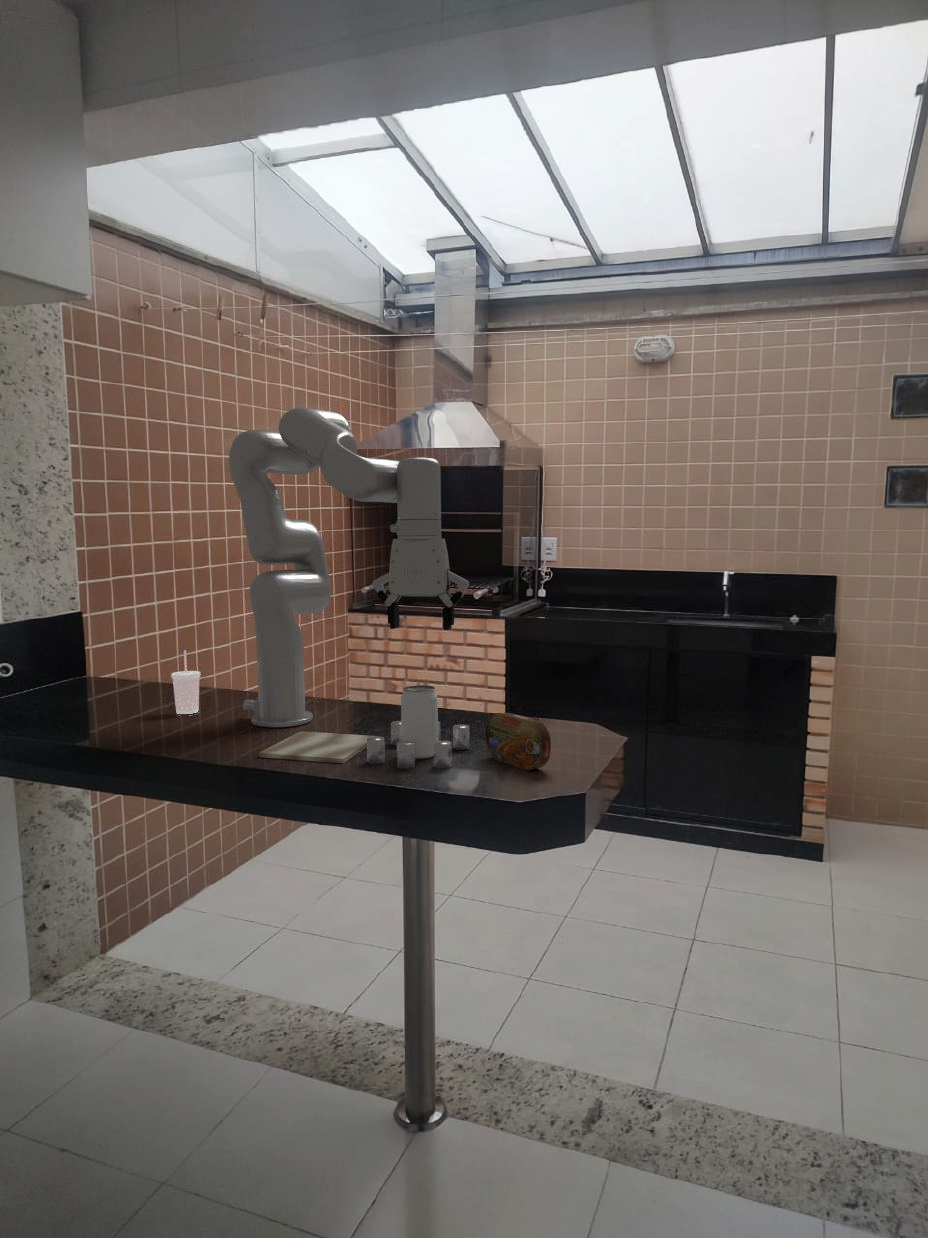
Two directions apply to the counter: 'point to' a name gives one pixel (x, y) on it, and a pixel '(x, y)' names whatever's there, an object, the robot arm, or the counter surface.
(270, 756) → the board
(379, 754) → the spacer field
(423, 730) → the can
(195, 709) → the beverage cup
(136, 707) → the counter surface
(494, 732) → the tin
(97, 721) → the counter surface
